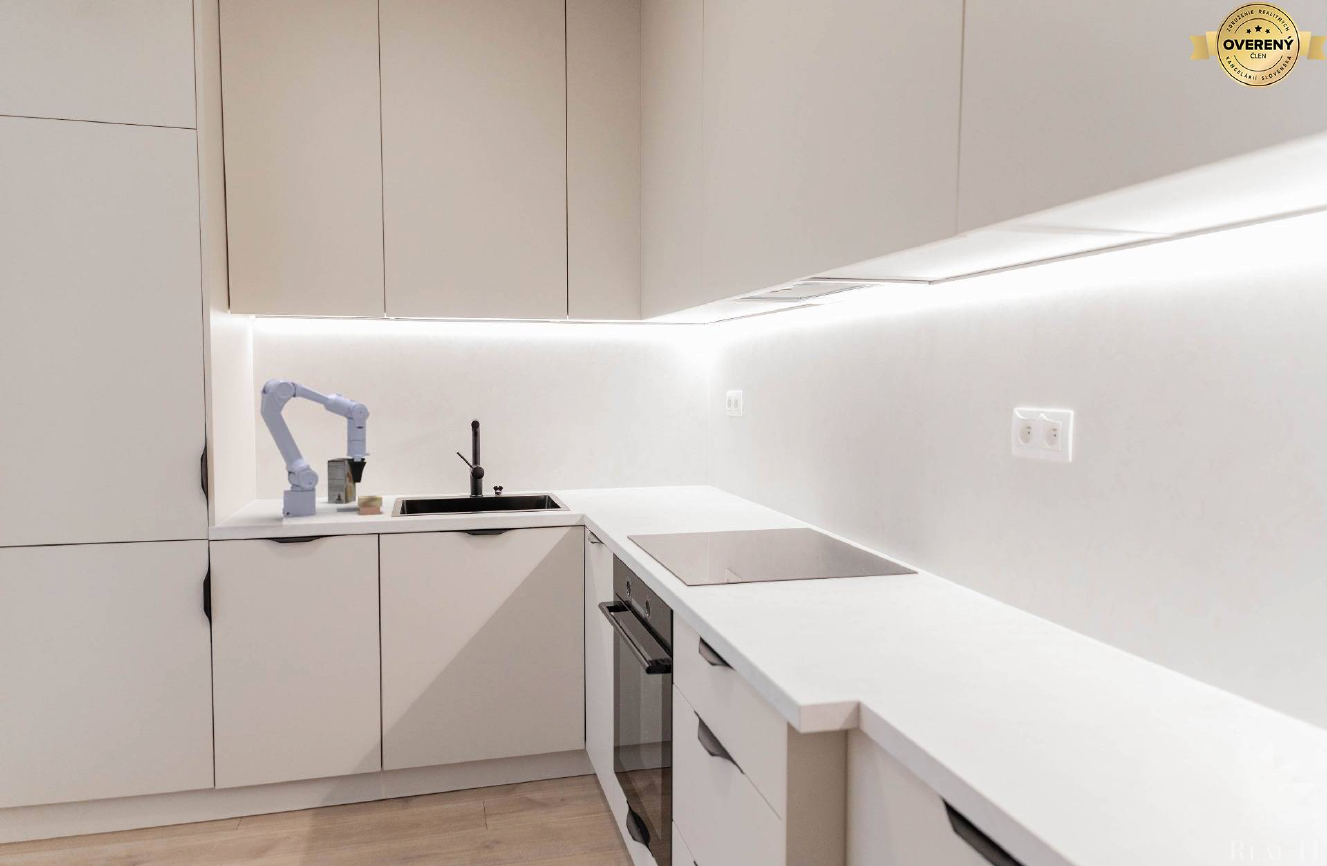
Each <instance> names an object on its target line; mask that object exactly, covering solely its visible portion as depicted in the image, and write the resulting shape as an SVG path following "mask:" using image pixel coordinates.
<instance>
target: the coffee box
mask: <svg viewBox="0 0 1327 866" xmlns="http://www.w3.org/2000/svg"><path fill="white" fill-rule="evenodd" d="M352 458H353V457H337V458H334V459H329V460H327V504H336V505H339V504H340V505H341V504H342V505H347V504H350V503H351V502H355V501H357V492H356V491H357V488H356V487H357V485H356V484H357V483H354V482H353V479H352V474H351V469H350V465H349V464H348V461H347V459H352Z"/></svg>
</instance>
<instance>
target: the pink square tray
mask: <svg viewBox="0 0 1327 866" xmlns="http://www.w3.org/2000/svg"><path fill="white" fill-rule="evenodd" d="M358 508H359V507H358ZM358 513H359V515H360V516H372V515H374V516H375V515H381V507H363V508H359V511H358Z"/></svg>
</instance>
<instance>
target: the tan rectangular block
mask: <svg viewBox="0 0 1327 866" xmlns="http://www.w3.org/2000/svg"><path fill="white" fill-rule="evenodd" d="M357 506H358V507H357V508H363V507H380V508H383V496H382V495H381V494H377V495H357Z"/></svg>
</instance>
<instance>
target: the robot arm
mask: <svg viewBox="0 0 1327 866" xmlns="http://www.w3.org/2000/svg"><path fill="white" fill-rule="evenodd" d="M260 395H261V399H260V401H261V402H260V410H259V412H260V415H261V417H262V420H263V421H264V423H265V426H266V428H268V429H267V430H269V433H270V436H271V437H272V439H273V441H274V443H275V445H276V447H277V449H278V451H279V453H280V455H281V456H282V458H283V461H284V462H285V471H286V472H287V480H288V483H289V484H290V485H291V486H290V489H289V490H283V507H282V515H283V517H307V516H314V515H316V513H317V509H316V508H317V507H316V501H317V500H316V494H317V493H316V486H317V485H318V483H319V474H318V473H317V472H316V471H314V470H313V469H312V468H311V467H310V464H309V463H308V462H307V461H306V460H305V459H304V457H303V455H302V453H301V451H300V449H299V447H298V445H297V444H296V442H295V441H296V440H294V437H293V435H292V433H291V431H290V429H289V427H288V425H287V423H286V421H285V420H284V418H283V415H282V411H283V409H284V408H285V406H286V404H287V403H288V402H289V401H290V400H291V399H292V398H303V399H306V400H308V401H312V402H315V403H317V404H319V405H323V407H324V409H325V411H326V412H331V413H333V414H335V415H338V416H340V417H343V418H346V422H347V427H346V429H347V430H346V431H347V432H346V433H347V434H346V437H347V441H346V442H347V443H346V451H347V452H346V456H347V457H348V458H352V459H347V461H348V464H349V465H350V469H351V474H352V479H353V482H354V483H356V484H360V483H361V482H362V478H363V472H364V469H365V466H366V464H367V461H366V458H365V457H367V456H370V454H371V453H370V452H367V419H368V418H369V417H370V412H369V410H368V408H367V407H366V405H364V404H362V403H356V402H355V401H356V400H354V399H348V398H346V397H343V396H342V394H340V393H330V394H329V395H327V394H325V393H322V392H320V391H317V390H315V389H314V388H311V387H308V386H305V385H303V384H301V383H297V382H292V381H289V380H287V379H280V380H279V379H274V378H273V379H269V380H267V382H265V383H264V385H263V387H262V389H261V390H260Z"/></svg>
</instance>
